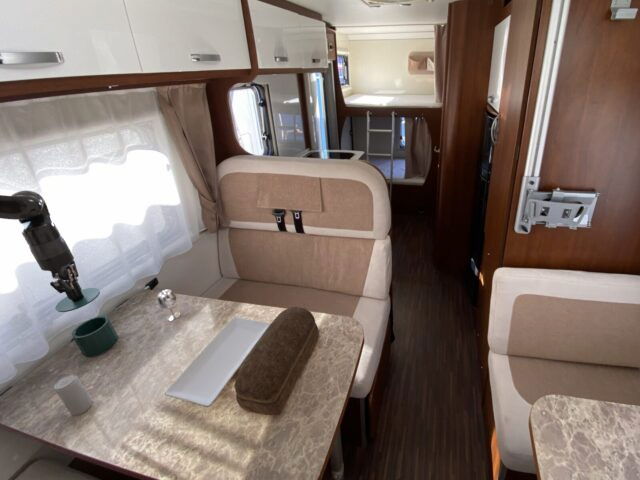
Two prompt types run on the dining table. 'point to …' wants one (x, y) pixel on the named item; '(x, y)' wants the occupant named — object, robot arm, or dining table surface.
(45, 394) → the dining table surface
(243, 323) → the tray
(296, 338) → the bread
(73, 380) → the beverage can
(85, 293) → the lid
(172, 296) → the wineglass
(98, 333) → the pot
